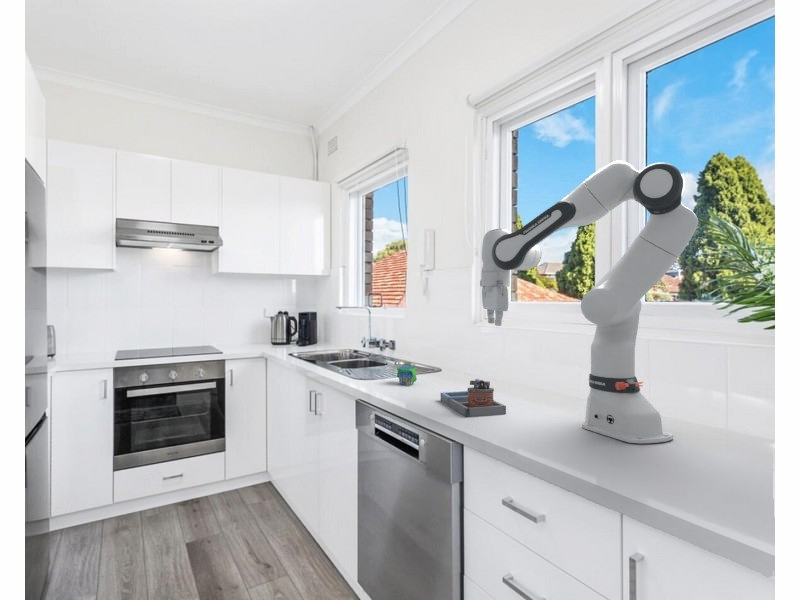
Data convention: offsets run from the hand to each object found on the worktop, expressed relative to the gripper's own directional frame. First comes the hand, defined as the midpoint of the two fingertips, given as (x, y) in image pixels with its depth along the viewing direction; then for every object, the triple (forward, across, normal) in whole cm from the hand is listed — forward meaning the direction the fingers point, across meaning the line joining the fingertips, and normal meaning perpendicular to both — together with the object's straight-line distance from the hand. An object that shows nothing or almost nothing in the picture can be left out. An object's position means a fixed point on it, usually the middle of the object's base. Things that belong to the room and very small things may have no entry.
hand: (494, 324), depth 143 cm
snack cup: (+29, +40, +26) cm, 56 cm away
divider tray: (+27, +3, +6) cm, 28 cm away
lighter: (+27, -4, +5) cm, 28 cm away
